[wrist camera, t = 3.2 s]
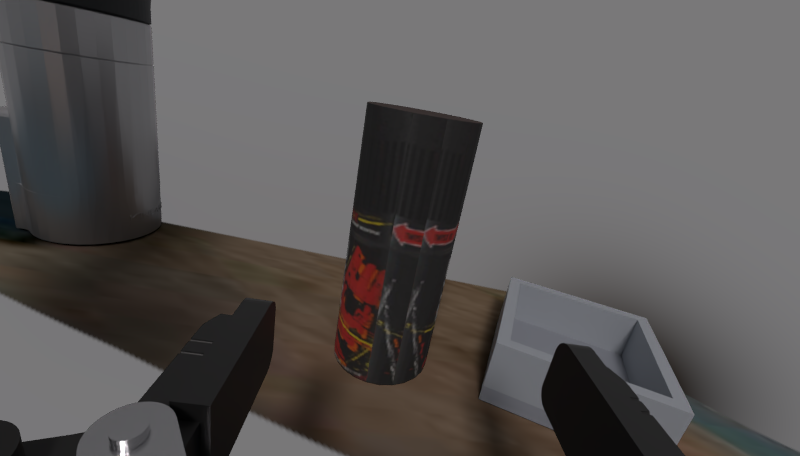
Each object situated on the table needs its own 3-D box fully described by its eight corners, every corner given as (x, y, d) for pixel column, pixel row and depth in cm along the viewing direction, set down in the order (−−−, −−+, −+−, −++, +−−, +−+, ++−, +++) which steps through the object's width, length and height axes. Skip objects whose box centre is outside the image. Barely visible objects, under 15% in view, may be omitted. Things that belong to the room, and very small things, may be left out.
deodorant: (439, 381, 22) (505, 128, 17) (341, 389, 20) (382, 108, 15) (409, 322, 28) (453, 115, 22) (329, 324, 26) (357, 98, 21)
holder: (478, 398, 21) (496, 342, 20) (498, 320, 30) (511, 276, 28) (659, 474, 19) (694, 414, 17) (624, 364, 27) (646, 318, 26)
